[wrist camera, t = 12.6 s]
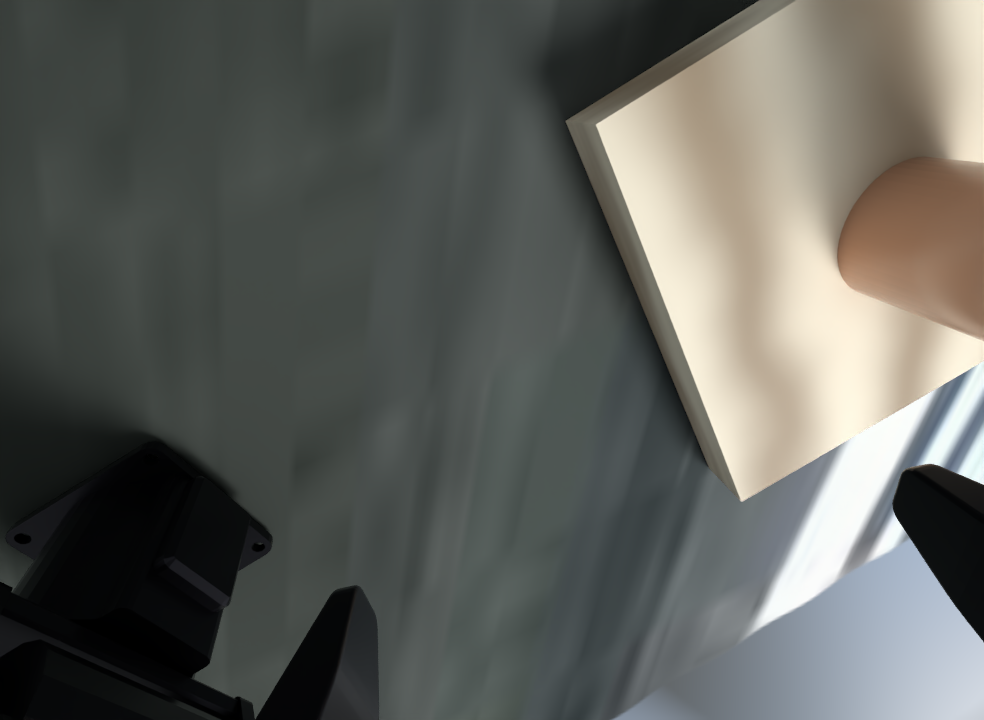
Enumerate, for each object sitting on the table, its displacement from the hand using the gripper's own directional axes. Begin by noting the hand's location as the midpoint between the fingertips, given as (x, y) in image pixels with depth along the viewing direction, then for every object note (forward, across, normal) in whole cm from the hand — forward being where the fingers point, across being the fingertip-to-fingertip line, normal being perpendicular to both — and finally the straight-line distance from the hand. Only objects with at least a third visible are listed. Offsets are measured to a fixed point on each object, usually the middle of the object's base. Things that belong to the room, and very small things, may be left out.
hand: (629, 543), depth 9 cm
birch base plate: (+14, -13, +2) cm, 20 cm away
